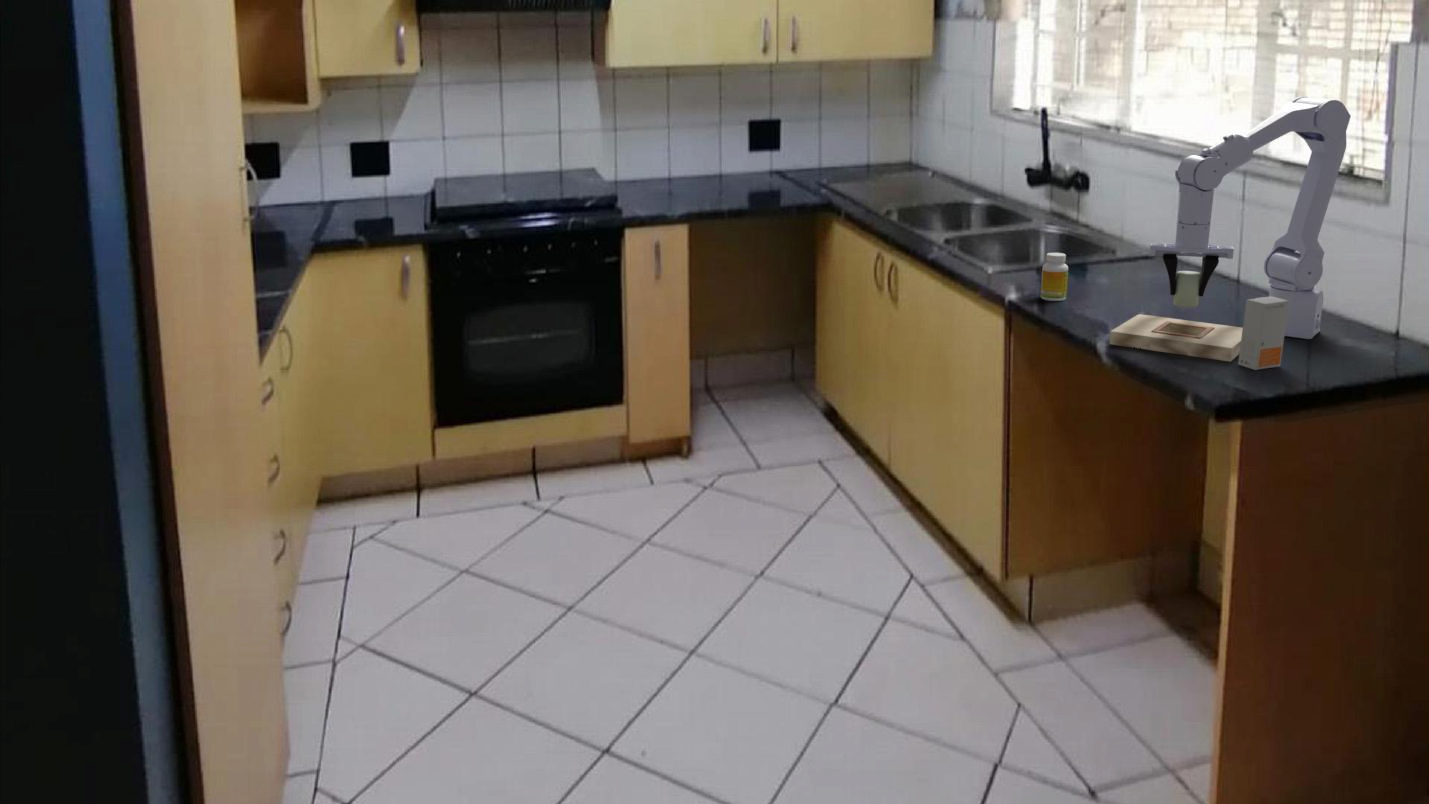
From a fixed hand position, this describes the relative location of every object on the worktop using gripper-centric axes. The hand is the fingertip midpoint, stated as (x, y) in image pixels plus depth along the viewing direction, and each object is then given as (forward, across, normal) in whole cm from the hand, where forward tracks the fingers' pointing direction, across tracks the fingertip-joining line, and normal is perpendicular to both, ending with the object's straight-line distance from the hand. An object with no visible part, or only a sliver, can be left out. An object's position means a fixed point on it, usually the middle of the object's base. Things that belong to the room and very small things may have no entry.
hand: (1186, 294), depth 243 cm
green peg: (+2, 0, 0) cm, 2 cm away
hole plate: (+9, 0, +2) cm, 9 cm away
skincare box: (+9, -12, +15) cm, 21 cm away
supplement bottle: (+9, +24, -31) cm, 40 cm away
